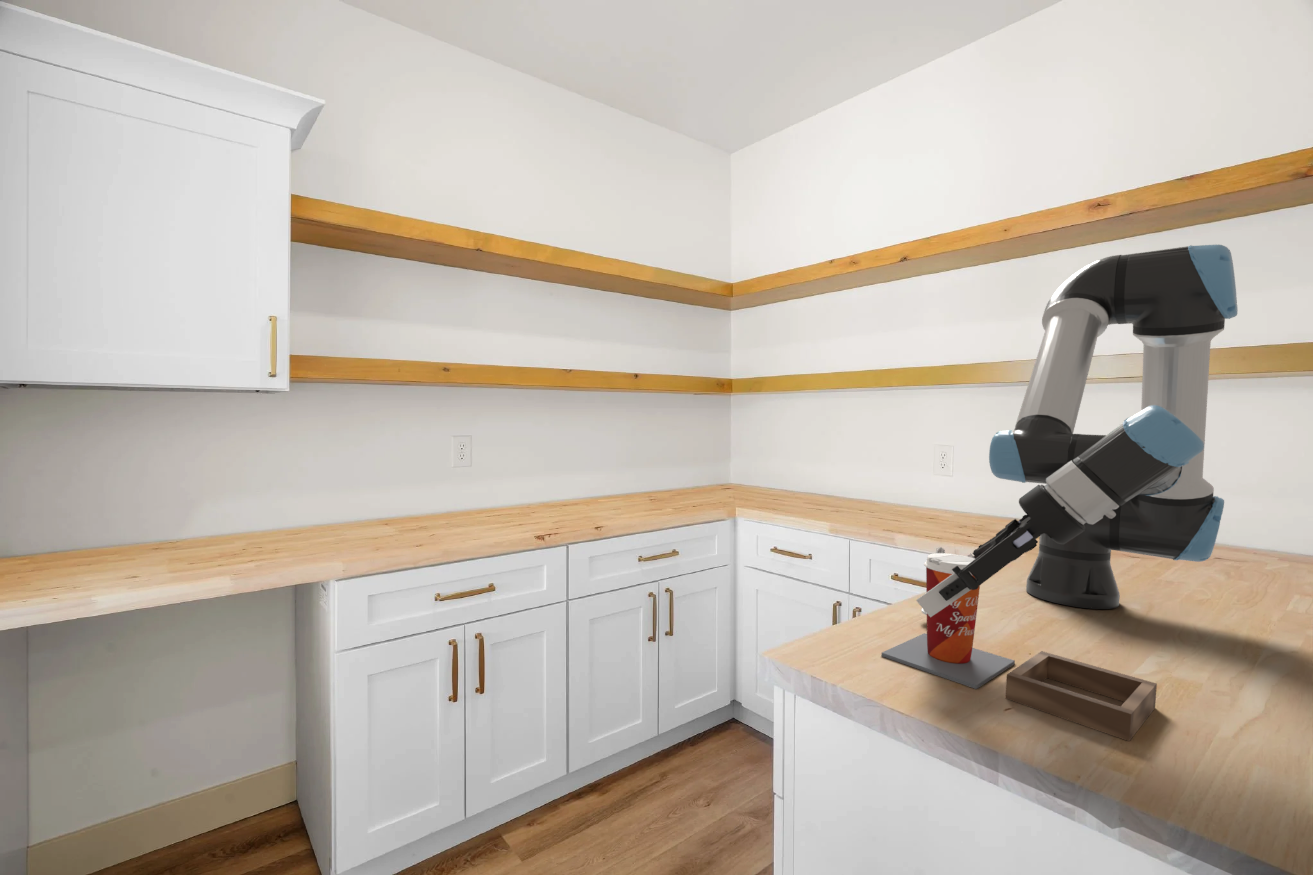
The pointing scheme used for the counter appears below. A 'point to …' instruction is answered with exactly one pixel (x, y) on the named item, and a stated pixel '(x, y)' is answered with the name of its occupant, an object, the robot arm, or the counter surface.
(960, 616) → the paper cup
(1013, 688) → the cup holder
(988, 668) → the slate mat
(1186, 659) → the counter surface
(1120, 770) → the counter surface
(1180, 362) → the robot arm
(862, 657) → the counter surface
